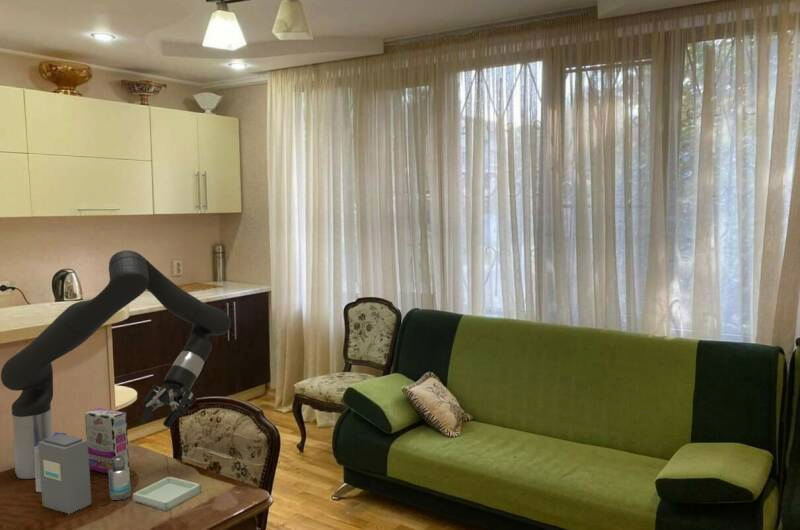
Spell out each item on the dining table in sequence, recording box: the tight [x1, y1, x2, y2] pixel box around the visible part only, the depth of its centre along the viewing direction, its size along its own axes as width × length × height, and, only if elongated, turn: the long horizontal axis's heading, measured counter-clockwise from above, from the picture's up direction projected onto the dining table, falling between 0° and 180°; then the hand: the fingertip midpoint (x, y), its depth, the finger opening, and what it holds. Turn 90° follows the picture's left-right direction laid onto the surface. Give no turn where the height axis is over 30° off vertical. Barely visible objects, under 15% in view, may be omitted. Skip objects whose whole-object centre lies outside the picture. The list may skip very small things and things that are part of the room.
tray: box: [132, 476, 202, 512], centre depth 162 cm, size 11×11×2 cm
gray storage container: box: [38, 434, 92, 515], centre depth 158 cm, size 10×6×17 cm, turn 62°
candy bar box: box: [84, 408, 130, 475], centre depth 179 cm, size 11×5×16 cm, turn 64°
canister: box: [107, 456, 132, 501], centre depth 162 cm, size 5×5×10 cm
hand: (154, 424), depth 171 cm, fingers open, 8 cm apart
